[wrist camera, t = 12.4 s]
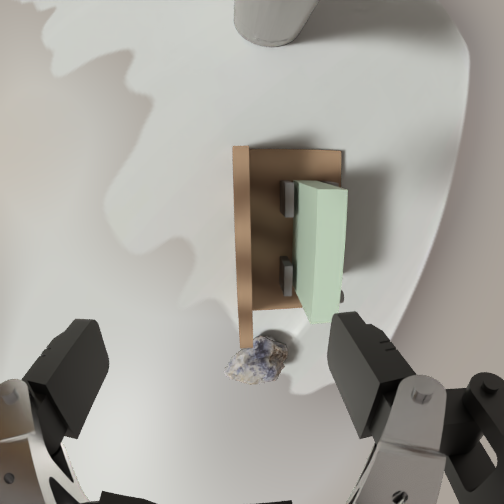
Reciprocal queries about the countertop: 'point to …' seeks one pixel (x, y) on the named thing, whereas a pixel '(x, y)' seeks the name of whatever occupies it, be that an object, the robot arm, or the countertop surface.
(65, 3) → the countertop surface
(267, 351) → the mineral specimen
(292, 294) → the hinge base
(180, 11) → the countertop surface
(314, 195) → the cabinet door
